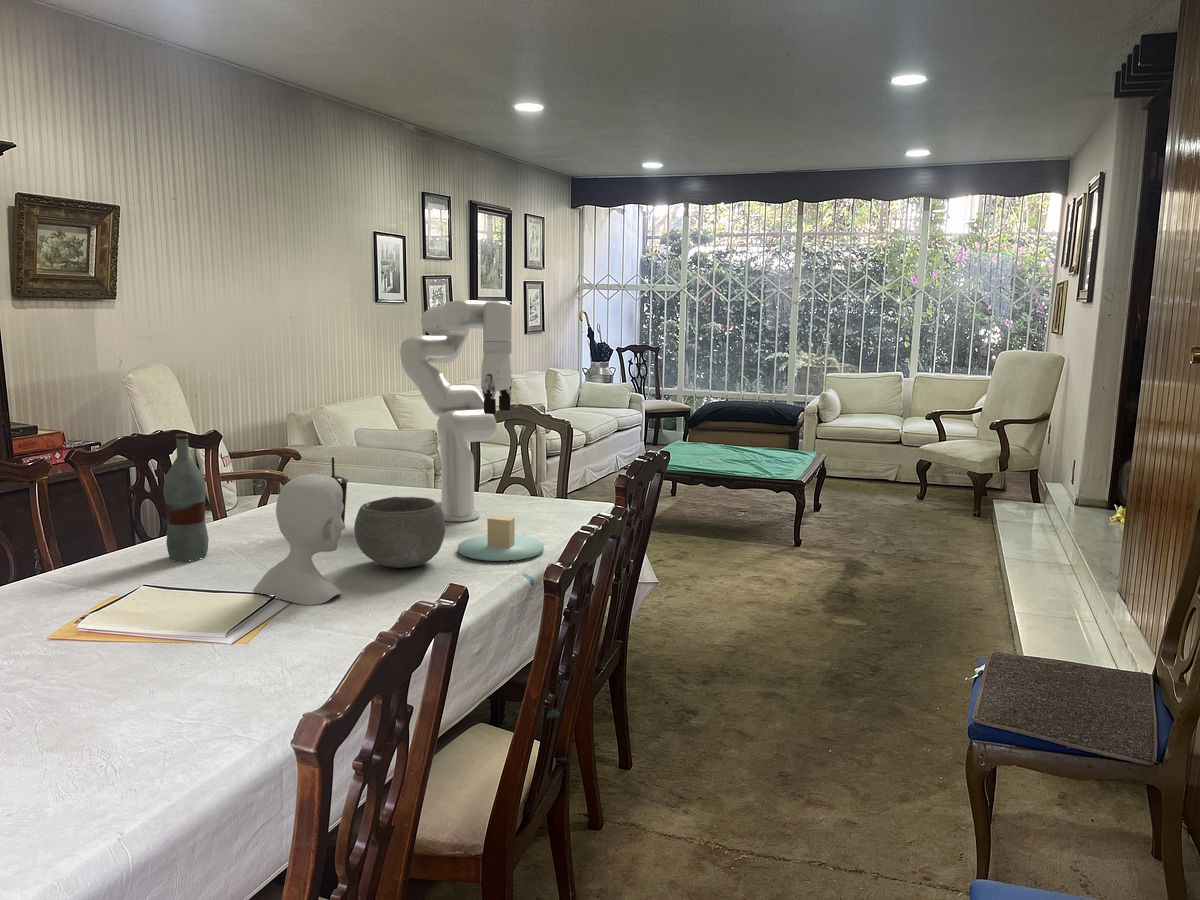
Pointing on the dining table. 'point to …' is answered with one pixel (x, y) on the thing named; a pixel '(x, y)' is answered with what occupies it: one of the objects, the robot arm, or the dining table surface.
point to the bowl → (400, 530)
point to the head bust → (306, 539)
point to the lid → (500, 543)
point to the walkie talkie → (343, 485)
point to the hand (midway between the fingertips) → (497, 411)
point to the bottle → (185, 506)
